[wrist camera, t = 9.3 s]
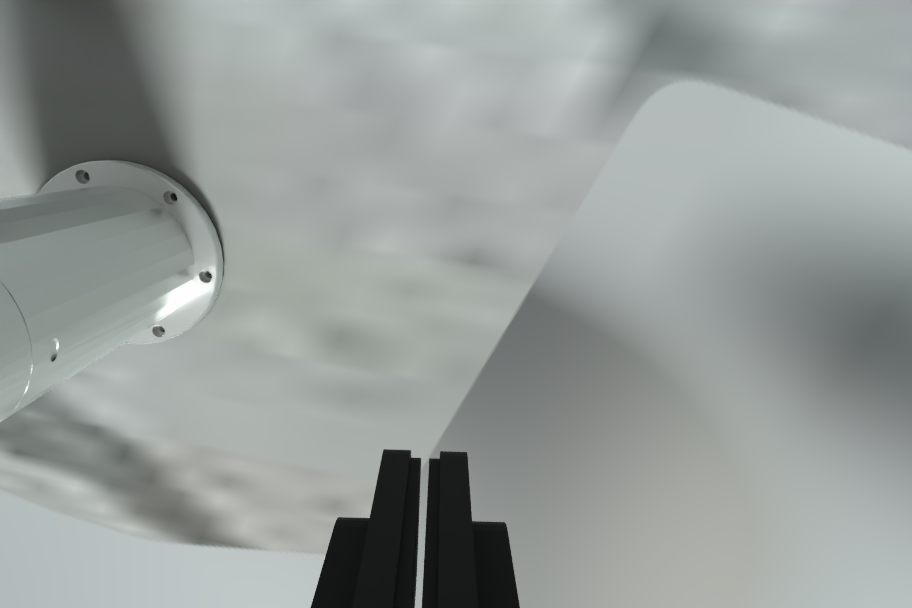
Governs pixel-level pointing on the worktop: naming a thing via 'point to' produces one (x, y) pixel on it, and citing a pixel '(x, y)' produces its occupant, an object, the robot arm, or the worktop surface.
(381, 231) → the worktop surface
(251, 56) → the worktop surface
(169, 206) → the robot arm
